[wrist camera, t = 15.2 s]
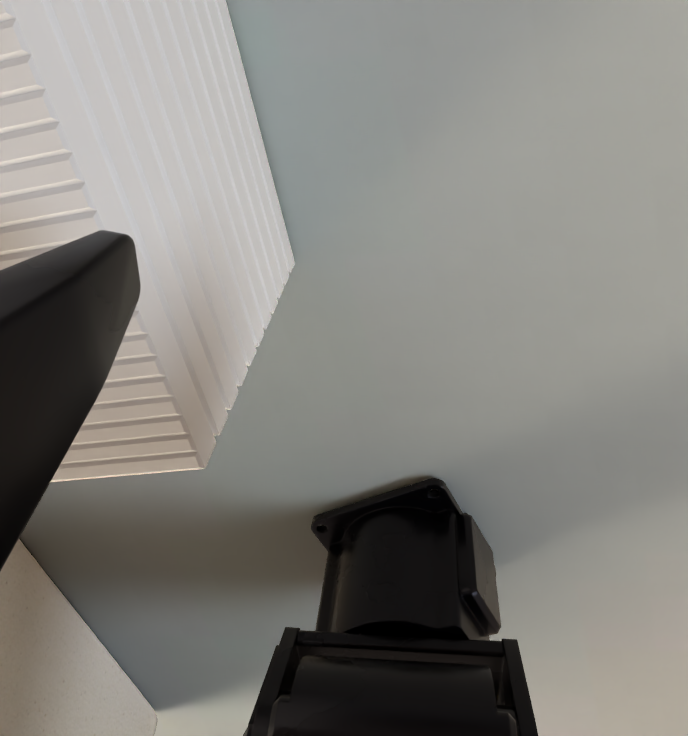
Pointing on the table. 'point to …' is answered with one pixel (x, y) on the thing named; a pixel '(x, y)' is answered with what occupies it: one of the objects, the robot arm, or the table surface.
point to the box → (58, 665)
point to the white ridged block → (146, 207)
